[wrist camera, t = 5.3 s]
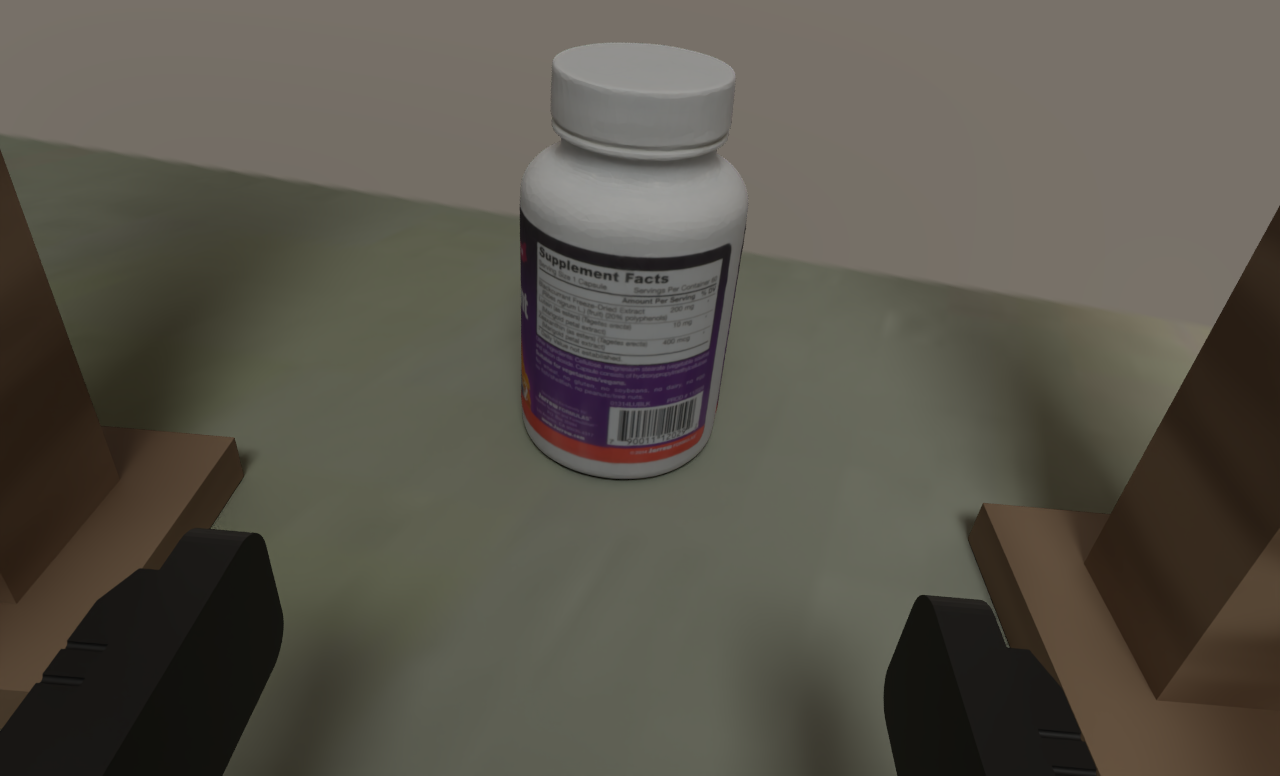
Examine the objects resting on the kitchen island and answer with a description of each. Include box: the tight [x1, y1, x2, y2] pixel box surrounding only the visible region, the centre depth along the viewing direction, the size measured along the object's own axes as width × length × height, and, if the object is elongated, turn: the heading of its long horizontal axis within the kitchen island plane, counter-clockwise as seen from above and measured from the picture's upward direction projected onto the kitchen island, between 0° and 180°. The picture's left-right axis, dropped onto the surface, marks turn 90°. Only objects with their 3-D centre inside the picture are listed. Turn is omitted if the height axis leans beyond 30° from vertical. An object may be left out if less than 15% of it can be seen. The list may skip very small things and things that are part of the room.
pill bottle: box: [520, 43, 748, 479], centre depth 21 cm, size 5×5×10 cm
